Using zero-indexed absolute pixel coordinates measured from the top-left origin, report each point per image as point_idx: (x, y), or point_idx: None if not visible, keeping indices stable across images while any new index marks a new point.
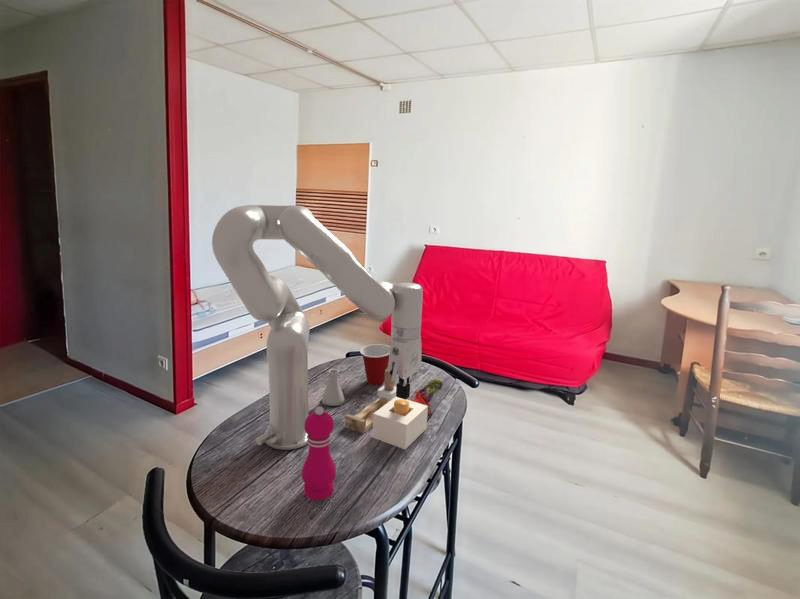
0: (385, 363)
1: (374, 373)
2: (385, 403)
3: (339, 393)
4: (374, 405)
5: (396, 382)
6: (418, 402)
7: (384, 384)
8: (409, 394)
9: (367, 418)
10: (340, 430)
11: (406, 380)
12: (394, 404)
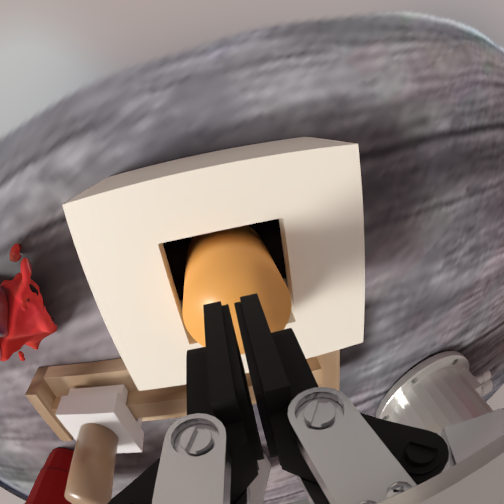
0: (46, 500)
1: None
2: (136, 394)
3: None
4: None
5: (497, 418)
6: (37, 308)
7: (115, 459)
8: (204, 317)
9: None
10: (346, 366)
11: (318, 452)
12: (281, 327)
